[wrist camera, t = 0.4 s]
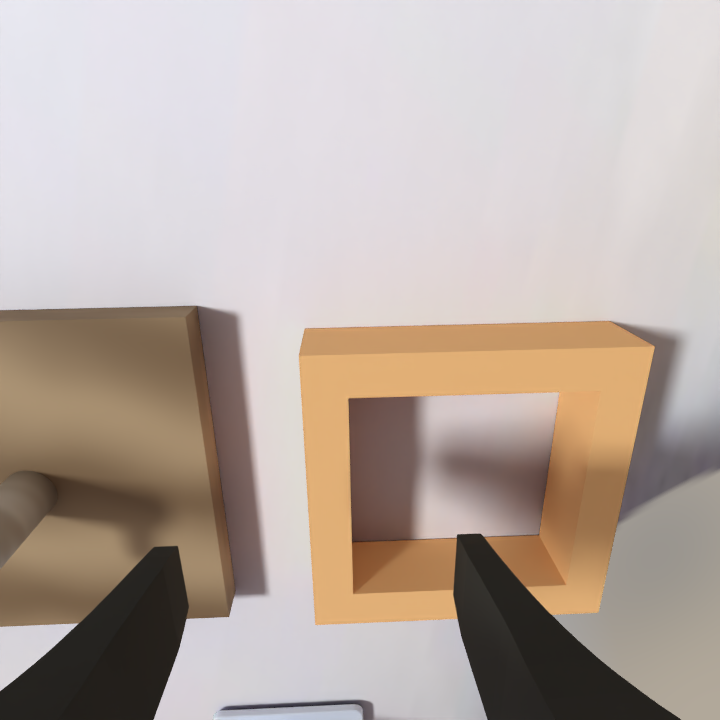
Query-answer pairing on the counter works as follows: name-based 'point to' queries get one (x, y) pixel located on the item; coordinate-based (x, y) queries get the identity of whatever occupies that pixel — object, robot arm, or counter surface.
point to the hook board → (105, 460)
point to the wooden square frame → (473, 377)
